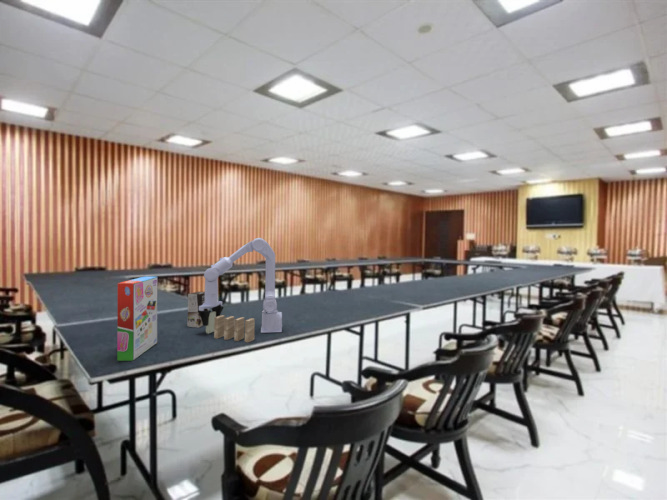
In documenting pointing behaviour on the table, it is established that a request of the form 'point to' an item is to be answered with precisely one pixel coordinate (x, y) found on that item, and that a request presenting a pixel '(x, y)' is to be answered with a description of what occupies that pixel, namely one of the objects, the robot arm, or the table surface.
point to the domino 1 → (211, 322)
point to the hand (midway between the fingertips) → (210, 323)
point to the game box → (136, 317)
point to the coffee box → (195, 309)
